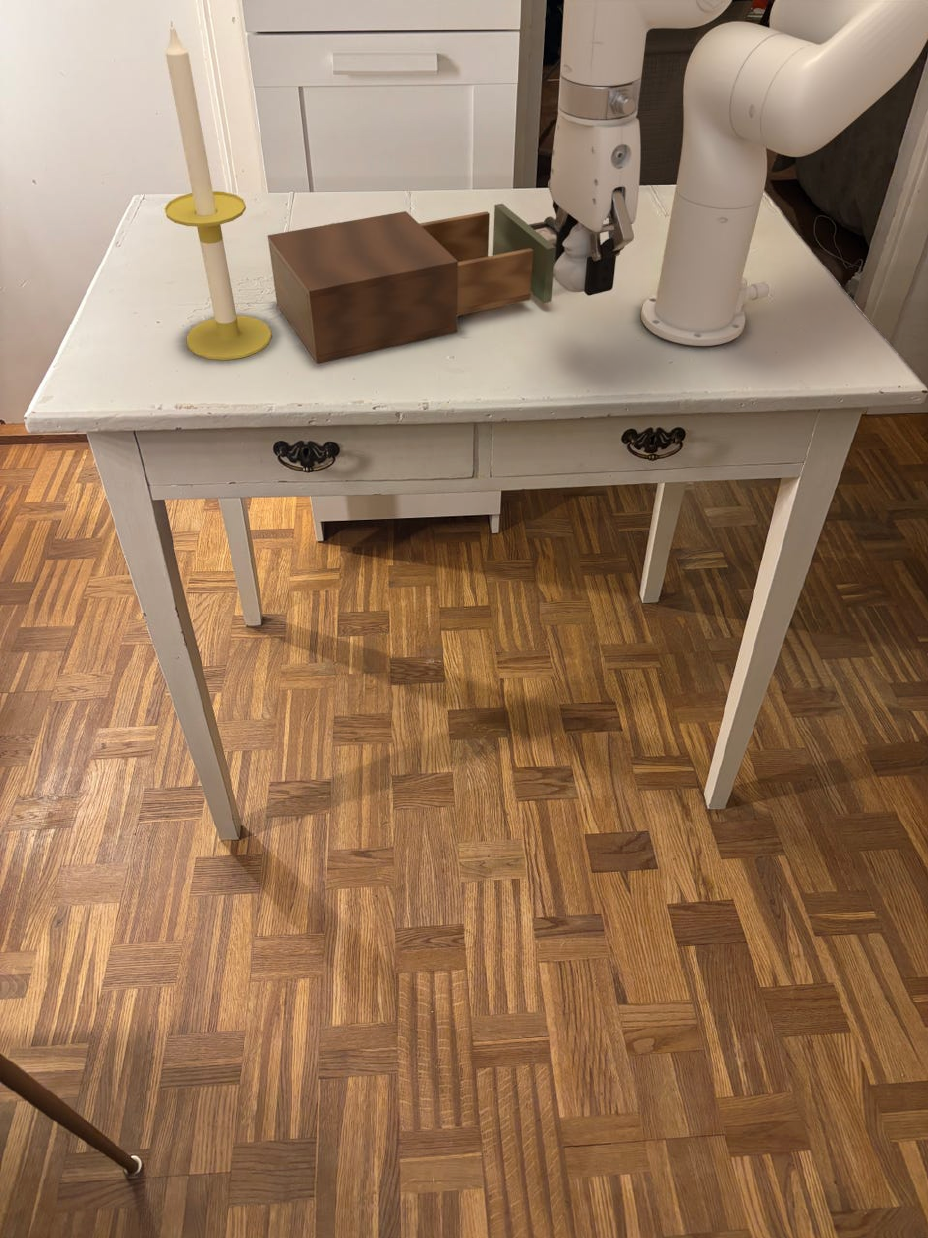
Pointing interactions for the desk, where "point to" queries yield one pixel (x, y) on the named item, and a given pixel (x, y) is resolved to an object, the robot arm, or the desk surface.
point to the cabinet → (364, 285)
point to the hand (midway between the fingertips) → (583, 277)
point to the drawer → (497, 258)
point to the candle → (208, 227)
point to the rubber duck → (574, 259)
